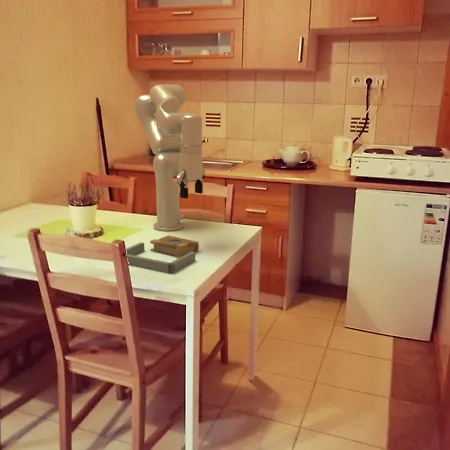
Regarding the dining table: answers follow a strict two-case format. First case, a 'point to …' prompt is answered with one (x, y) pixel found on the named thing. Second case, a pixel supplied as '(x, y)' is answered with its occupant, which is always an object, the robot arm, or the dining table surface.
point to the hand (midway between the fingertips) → (191, 195)
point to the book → (174, 246)
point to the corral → (157, 264)
